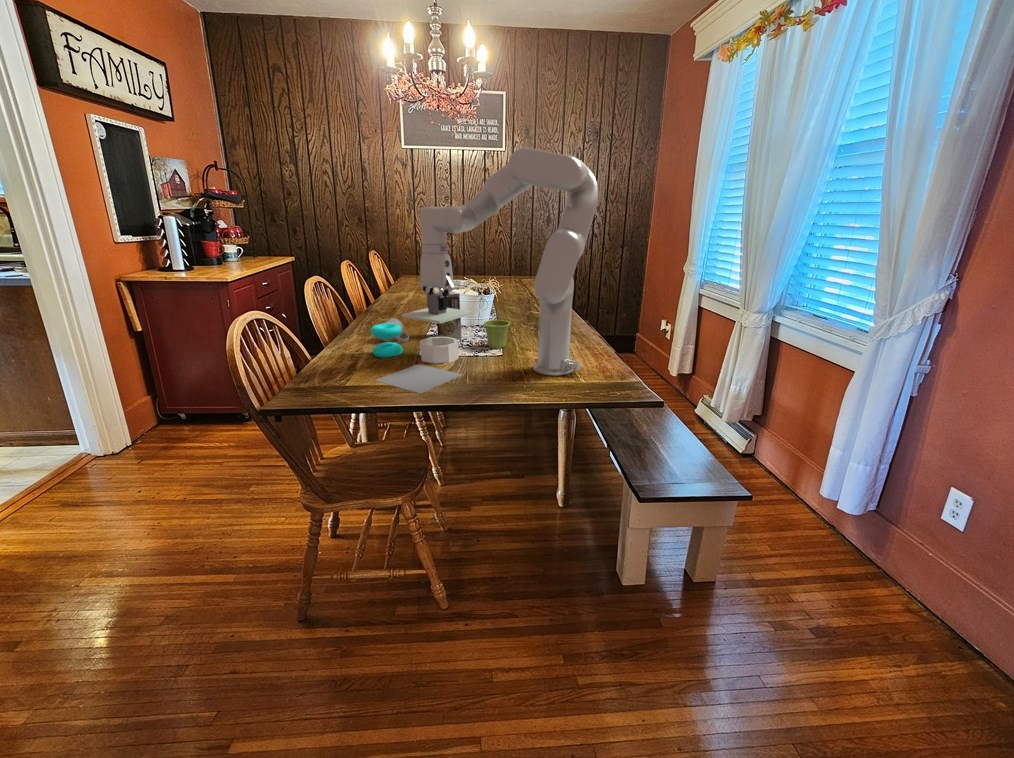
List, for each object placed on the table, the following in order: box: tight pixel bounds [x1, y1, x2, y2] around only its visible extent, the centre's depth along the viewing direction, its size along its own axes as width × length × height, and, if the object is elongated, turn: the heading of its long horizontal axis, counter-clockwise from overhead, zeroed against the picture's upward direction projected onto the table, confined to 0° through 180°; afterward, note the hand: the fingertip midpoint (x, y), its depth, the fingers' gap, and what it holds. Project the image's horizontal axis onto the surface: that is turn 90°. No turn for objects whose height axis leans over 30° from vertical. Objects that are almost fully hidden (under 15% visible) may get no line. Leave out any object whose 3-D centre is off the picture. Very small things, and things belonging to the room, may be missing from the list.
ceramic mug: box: [379, 317, 410, 343], centre depth 178 cm, size 11×8×8 cm
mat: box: [374, 363, 463, 394], centre depth 140 cm, size 18×18×1 cm
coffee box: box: [436, 293, 463, 339], centre depth 183 cm, size 9×6×16 cm
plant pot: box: [482, 319, 511, 349], centre depth 171 cm, size 9×9×9 cm
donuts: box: [370, 322, 404, 359], centre depth 161 cm, size 10×10×10 cm
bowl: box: [419, 336, 460, 364], centre depth 157 cm, size 12×12×6 cm
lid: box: [400, 292, 474, 324], centre depth 152 cm, size 16×16×7 cm
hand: (437, 308), depth 152 cm, fingers closed on lid, 4 cm apart
